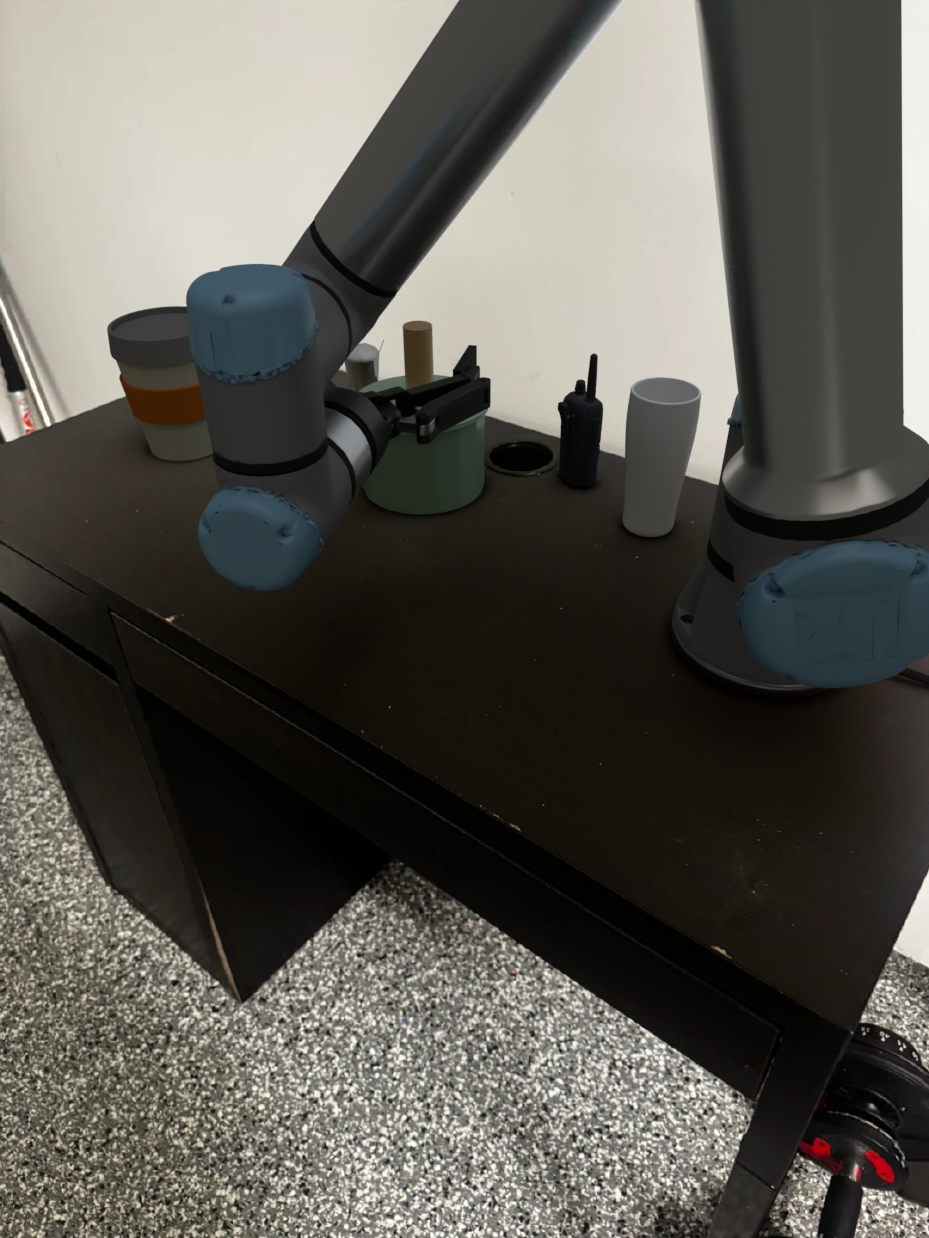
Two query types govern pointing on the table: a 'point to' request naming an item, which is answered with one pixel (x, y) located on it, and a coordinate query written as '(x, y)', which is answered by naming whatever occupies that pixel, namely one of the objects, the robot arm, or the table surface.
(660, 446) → the drinking glass
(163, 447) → the reusable coffee cup
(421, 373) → the lid
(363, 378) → the milkshake
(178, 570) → the table surface
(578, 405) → the two-way radio
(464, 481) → the pot
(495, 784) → the table surface
